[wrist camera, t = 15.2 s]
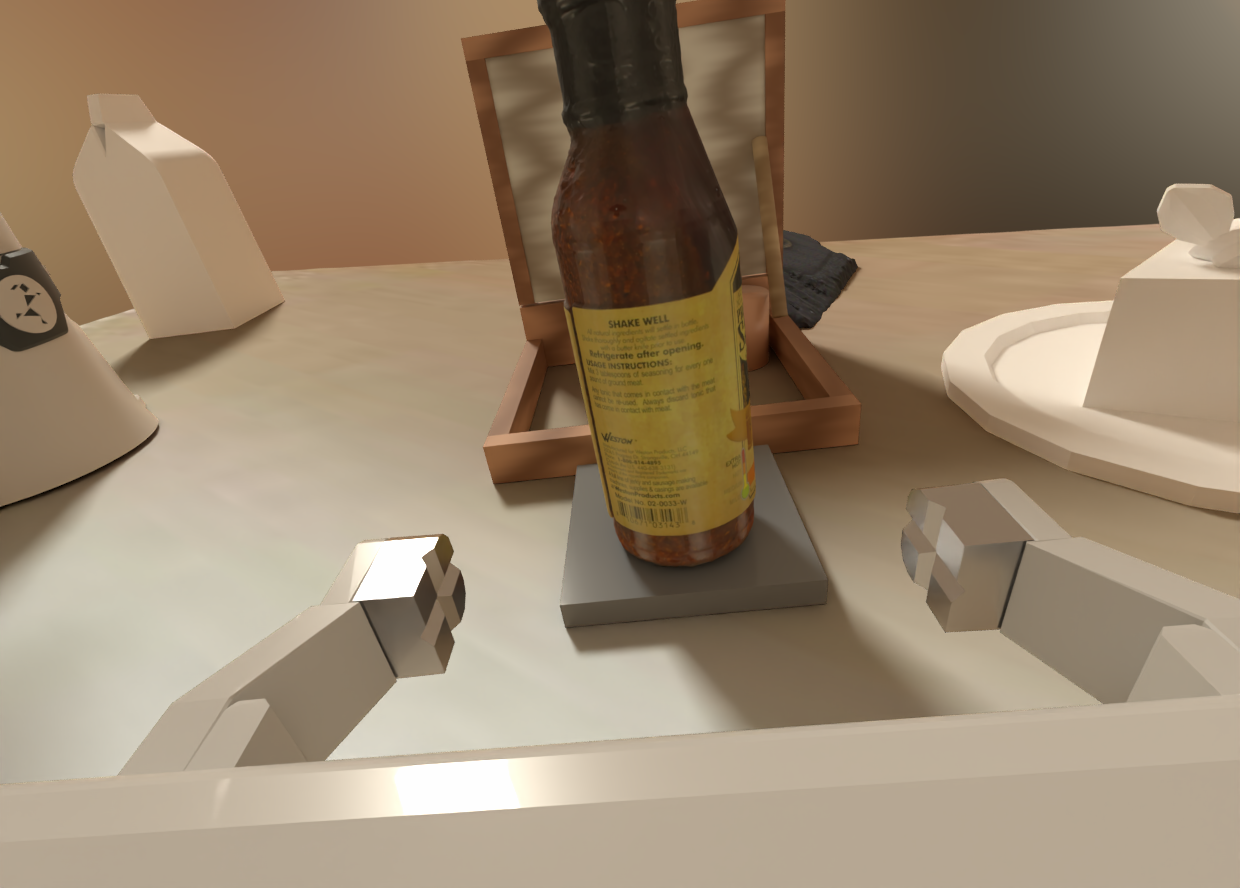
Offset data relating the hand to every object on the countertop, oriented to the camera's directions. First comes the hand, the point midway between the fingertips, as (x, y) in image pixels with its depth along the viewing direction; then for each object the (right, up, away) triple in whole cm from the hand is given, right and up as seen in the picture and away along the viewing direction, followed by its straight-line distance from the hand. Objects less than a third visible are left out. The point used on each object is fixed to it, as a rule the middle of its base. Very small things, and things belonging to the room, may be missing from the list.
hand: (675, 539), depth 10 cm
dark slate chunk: (+13, +16, +47) cm, 52 cm away
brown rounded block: (+8, +8, +33) cm, 35 cm away
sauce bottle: (+2, -2, +15) cm, 15 cm away
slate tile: (+2, -2, +16) cm, 17 cm away
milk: (-55, +18, +68) cm, 89 cm away
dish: (+31, +4, +22) cm, 38 cm away
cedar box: (+2, +5, +29) cm, 30 cm away
